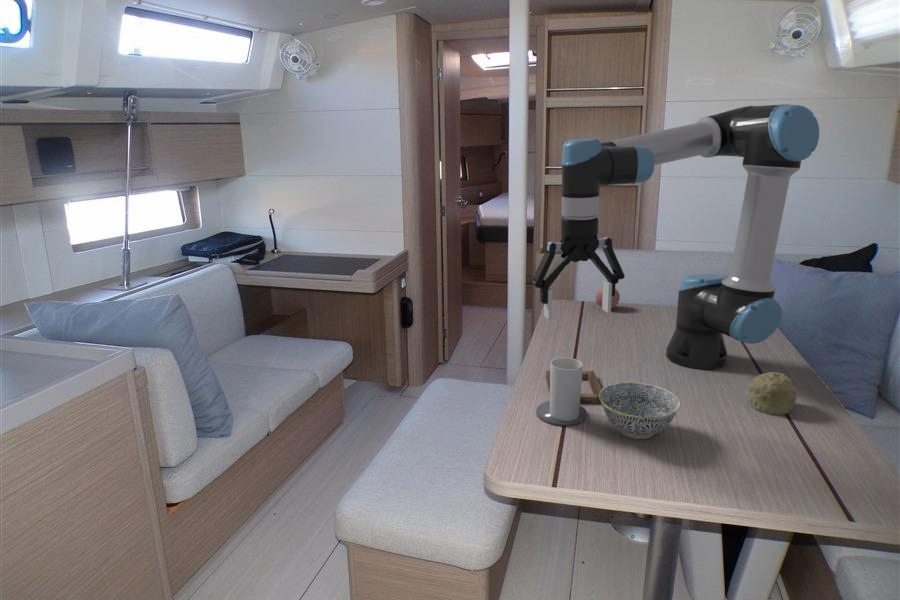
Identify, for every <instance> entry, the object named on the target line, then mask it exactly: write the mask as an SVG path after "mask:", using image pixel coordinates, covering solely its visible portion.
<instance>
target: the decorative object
mask: <svg viewBox="0 0 900 600" xmlns="http://www.w3.org/2000/svg"><path fill="white" fill-rule="evenodd" d="M797 391H798V388H797V386H796V385H795V384H794V383H793V381H792V380H791V378H790V376H787V375H786V374H784V373H781V372H778V371H777V372H776V371H775V372H773V371H768V372H766V373H760V374H758V375H757V376H755V377H754V379H752V381H751V382H750V384H749V387H748V394H747V399H746V401H747V404H748V405H749V406H750V407H751V408H752V409H754V410H756V411H758V412H761V413H763V414H769V415H775V416H776V415H777V416H779V415H786V414H789V413H790V414H791V413H792V408H793V407H794V406H795V404H796V403H795V402H796V401H797Z"/></svg>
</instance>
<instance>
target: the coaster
mask: <svg viewBox="0 0 900 600" xmlns="http://www.w3.org/2000/svg"><path fill="white" fill-rule="evenodd" d="M535 411H536V412H535V414H536V417H537V418H538V419H539V420H540V421H542V422H544V423H547V424H549V425H553V426H558V427H559V426H561V427H573V426H577V425H579V424H580V425H581V424H582V423H584V422H585V421H586V420H587V418H588V412H587V410H586V408H585V407H583V406H582V405H580V409H579V416H578V418H577V419H575V420H572V421H561V420H557V419H555V418H553V417H552V416H551V415H550V400H549V401H544V402H542V403H540V404H538V406H537V408H536V409H535Z"/></svg>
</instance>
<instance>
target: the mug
mask: <svg viewBox="0 0 900 600" xmlns="http://www.w3.org/2000/svg"><path fill="white" fill-rule="evenodd" d="M549 363H550V365H549V366H550V369H549V371H550V393H549V401H550V415H551V416H552V417H553V418H555V419H557V420H561V421H572V420H575V419H577V418H578V416H579V409H580V406H581V403H580V396H581V394H582V393H581V392H582V382H583V381H582V380H583V379H582V371H583V365H584V364H583V362H582V361H581V360H578V359H575V358H571V357H557V358H554V359H552V360H550V362H549Z"/></svg>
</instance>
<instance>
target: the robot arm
mask: <svg viewBox="0 0 900 600" xmlns="http://www.w3.org/2000/svg"><path fill="white" fill-rule="evenodd" d="M819 139H820V125H819V121H818V119H817V117H816V116H815V115H814V113H813V111H812V110H810V109H809V108H808V107H806V106H803V105H799V104H789V103H786V104H783V103H782V104H770V105H748V106H743V107H742V106H741V107H736V108H734V109H731V110H727V111H724V112H719V113H716V114H712V115H708V116H703V117H701V118H699V119H698V120H697V121H696V122H695V123H691V124H685V125H681V126H678V127H672V128H667V129H663V130H657V131H652V132H648V133H643V134H637V135H633V136H628V137H625V138H619V139H614V140H610V141H605V142H601V140H599V139H598V138H582V139H581V138H579V139H578V138H577V139H576V138H575V139H568V140H566V141H565V142H564V144H563V146H562V155H561V215H562V216H563V217H562V218H561V220H560V221H561V222H560V224H561V225H560V227H561V228H560V235H561V236H560V238H561V239H560V241H559V242H553V241H551V240H548V241H546V244H545V250H544V251H545V252H544V254H543V256H542V258H541V260H540V262H539V265H538V266H537V269H536V270H535V273H534V275H533V277H532V280H531V282H530V283H531V285H532V286H533V287H535V288H537V289H538V288H539V291H540V292H539V301H540V303H541V304H542V305H543V317H545V318H546V320H550V321H551V320H553V289H551V286H552V284H553V283H554V282H555V280H557V278H558V277H559V276H560V274H561V273H562V271H563V270H564V269H565V268H566V266H568V265H569V264H570V263H571V262H573V263H578V262H587V261H589V260H590V261H591V262H592V264H594V266H595V267H596V268H597V270H598V271H599V272H600V273H601V274H602V276H604V277H605V279H606V280H603V281H602V287H603V297H602V307H601V310H602V311H604V312H606V314H611V313H612V309H611V299H612V297H614V296H615V288H616V286H617V284H618V283H619V280H623V279H625V273H624V271H623V269H622V266H621V264H620V262H619V260H618V257H617V256H616V253H615V251H614V248H613V239H612V238H610V237H608V236H605V235H604V236H602V237H601V238H598V235H599V218H598V215H599V213H600V212H599V211H600V209H599V208H600V189H601V187H605V186H614V185H636V184H638V183H639V184H640V183H645V182H647V181H649V179H651V178H652V176H653V173H654V171H655V166H657V165H662V164H666V163H670V162H671V163H672V162H676V161H680V160H684V159H689V158H695V157H699V156H701V157H702V158H705V159H706V158H707V159H708V158H714V157H739V158H743V159H742V165H741V166H742V167H743V169H744V171H746V173H747V178H746V182H745V183H746V184H745V189H744V194H743V200H742V204H741V205H742V206H741V210H740V218H739V221H738V228H737V232H736V233H737V234H736V238H735V243H734V244H735V246H734V249H733V255H732V260H731V261H732V262H731V265H730V266H731V267H730V273H729V275H728V276H727V275H724V274H718V273H717V274H716V273H715V274H714V273H696V274H689V275H686V276H683V277H682V278H681V281H680V284H679V289H678V296H677V297H678V298H677V311H676V323H675V329H674V332H673V334H672V336H671V338H670V340H669V342H668V344H667V347H666V353H665V355H666V358H667V359H668V360H669V361H671V362H672V363H675V364H676V365H679V366H683V367H687V368H692V369H700V370H701V369H702V370H713V369H719V368H722V367H724V366H726V365H727V362H728V350H727V346H726V343H725V342H726V341H725V339H724V335H725V336H728V337H730V338H731V339H733V340H735V341H739V342H743V343H744V344H745V343H746V344H751V345H754V344H759V343H762V342H764V341H765V340H767V339H769V338H770V336H772V335H773V334H774V333H775V332H776V331H777V329H778V328H779V326H780V324H781V321H782V318H783V309H782V307H781V305H780V303H779V302H778V301H777V300H776V299H774V297H775V292H776V287H775V286H774V285H773V283H772V282H771V280H770V279H771V274H772V270H773V265H774V260H775V255H776V251H777V245H778V240H779V235H780V230H781V225H782V220H783V215H784V209H785V204H786V200H787V194H788V189H789V184H790V180H791V177H792V176H793V175H794V174H796V172H799V171H800V169H801V165H802V161H804V160H806V159H807V158H809V157H810V156H812V154H813V153H812V152H815V150H816V149H817V147H818V145H819ZM599 247H600V248H601V250H602V251H603V253H604V256H605V258H606V260H607V262H608V265H609V266H610V268H611V270H610V269H609V267H608V266H607V265H606V264H605V263H604V262H603V261H602V259H601V257H600V256H599V255H598V254H597V253H596V250H597V249H598V248H599ZM559 250H560V251H561V253H560V255H559V256H557V260H556V262H555V263H554V264H553V265H552V262H553V260H554V258H555V256H556V254H557V253H558V251H559ZM551 265H552V267H551ZM550 267H551V268H550Z"/></svg>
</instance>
